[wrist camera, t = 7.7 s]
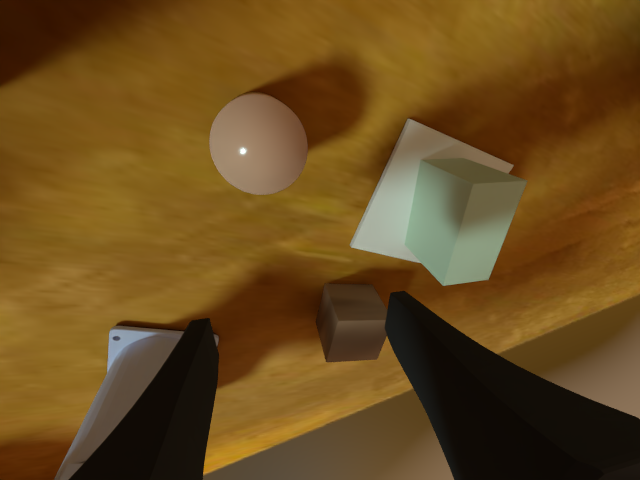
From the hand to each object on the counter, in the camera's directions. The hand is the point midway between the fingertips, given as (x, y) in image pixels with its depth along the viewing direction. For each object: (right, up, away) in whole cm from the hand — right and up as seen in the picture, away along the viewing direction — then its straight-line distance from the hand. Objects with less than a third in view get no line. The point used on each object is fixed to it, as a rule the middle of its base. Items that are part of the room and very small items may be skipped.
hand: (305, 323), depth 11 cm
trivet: (+9, +6, +11) cm, 16 cm away
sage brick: (+9, +6, +11) cm, 15 cm away
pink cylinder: (-3, +10, +6) cm, 12 cm away
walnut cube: (+3, -2, +15) cm, 15 cm away
